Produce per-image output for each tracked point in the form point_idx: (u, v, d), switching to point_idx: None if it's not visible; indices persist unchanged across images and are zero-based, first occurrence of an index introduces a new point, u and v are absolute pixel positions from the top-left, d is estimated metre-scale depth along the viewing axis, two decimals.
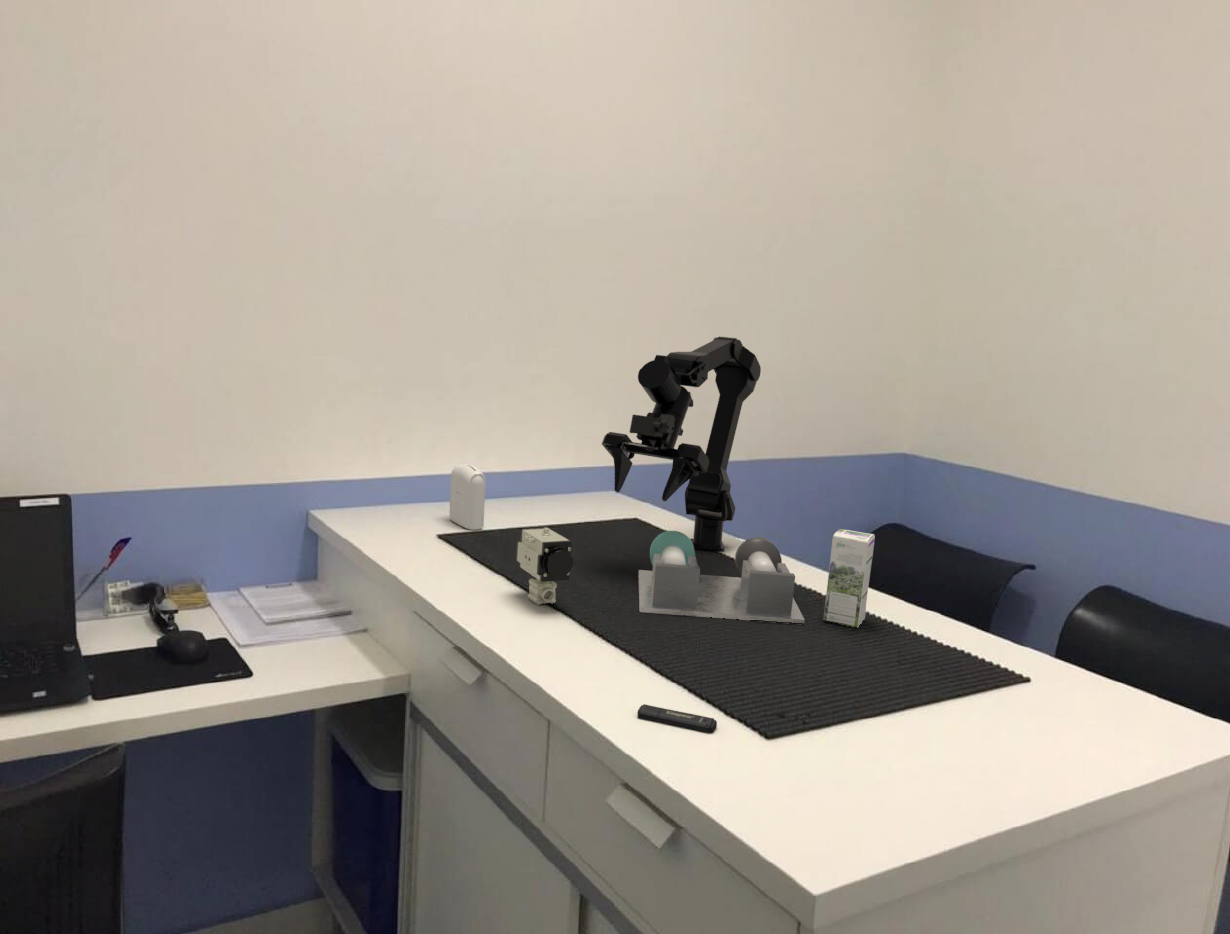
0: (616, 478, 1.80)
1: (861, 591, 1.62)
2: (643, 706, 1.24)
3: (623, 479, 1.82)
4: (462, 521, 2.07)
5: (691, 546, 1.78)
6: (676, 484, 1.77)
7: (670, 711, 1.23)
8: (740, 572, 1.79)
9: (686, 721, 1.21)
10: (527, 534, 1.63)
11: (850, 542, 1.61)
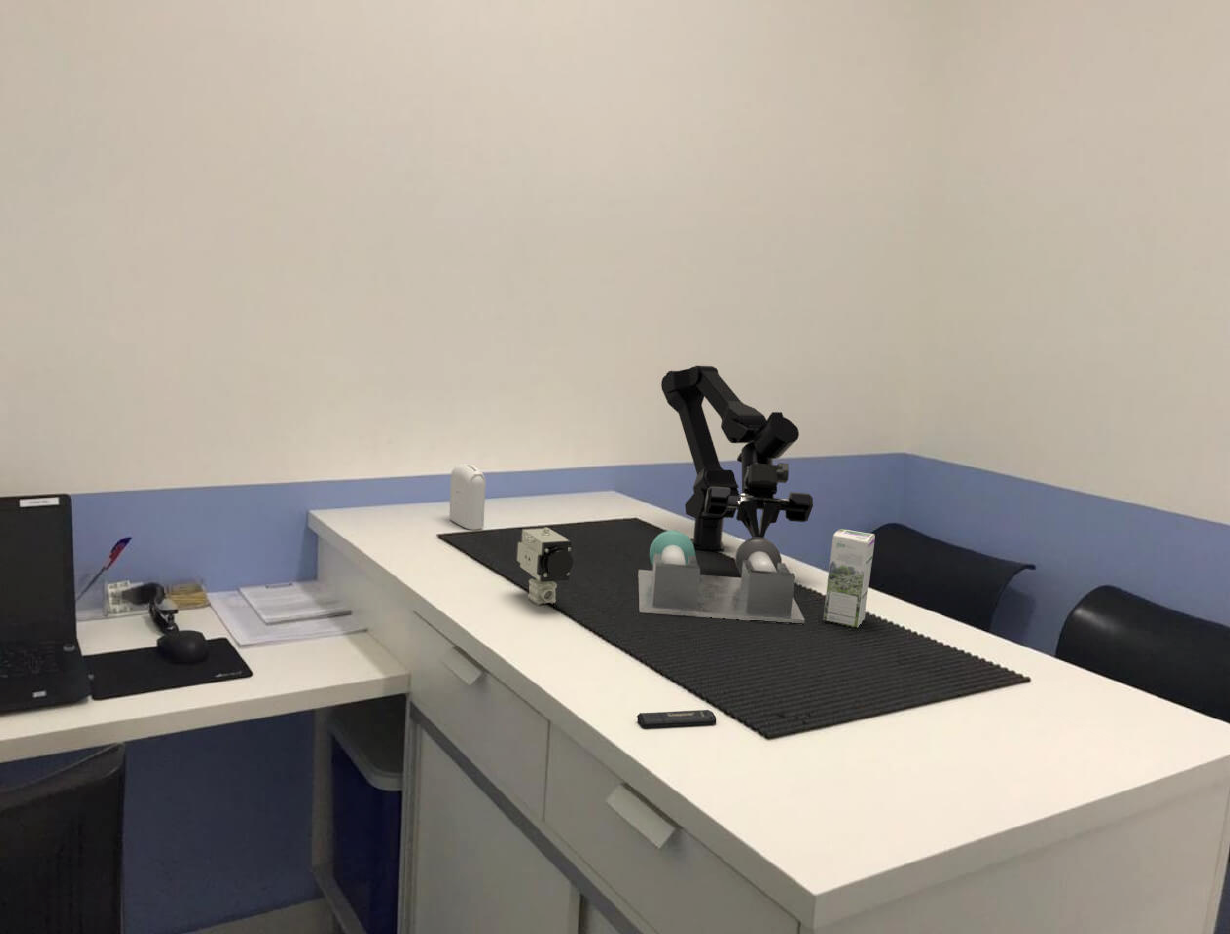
0: (756, 531, 1.81)
1: (861, 591, 1.62)
2: (643, 715, 1.21)
3: None
4: (462, 521, 2.07)
5: (691, 546, 1.78)
6: None
7: (670, 713, 1.22)
8: (740, 572, 1.79)
9: (692, 719, 1.22)
10: (527, 534, 1.63)
11: (850, 542, 1.61)
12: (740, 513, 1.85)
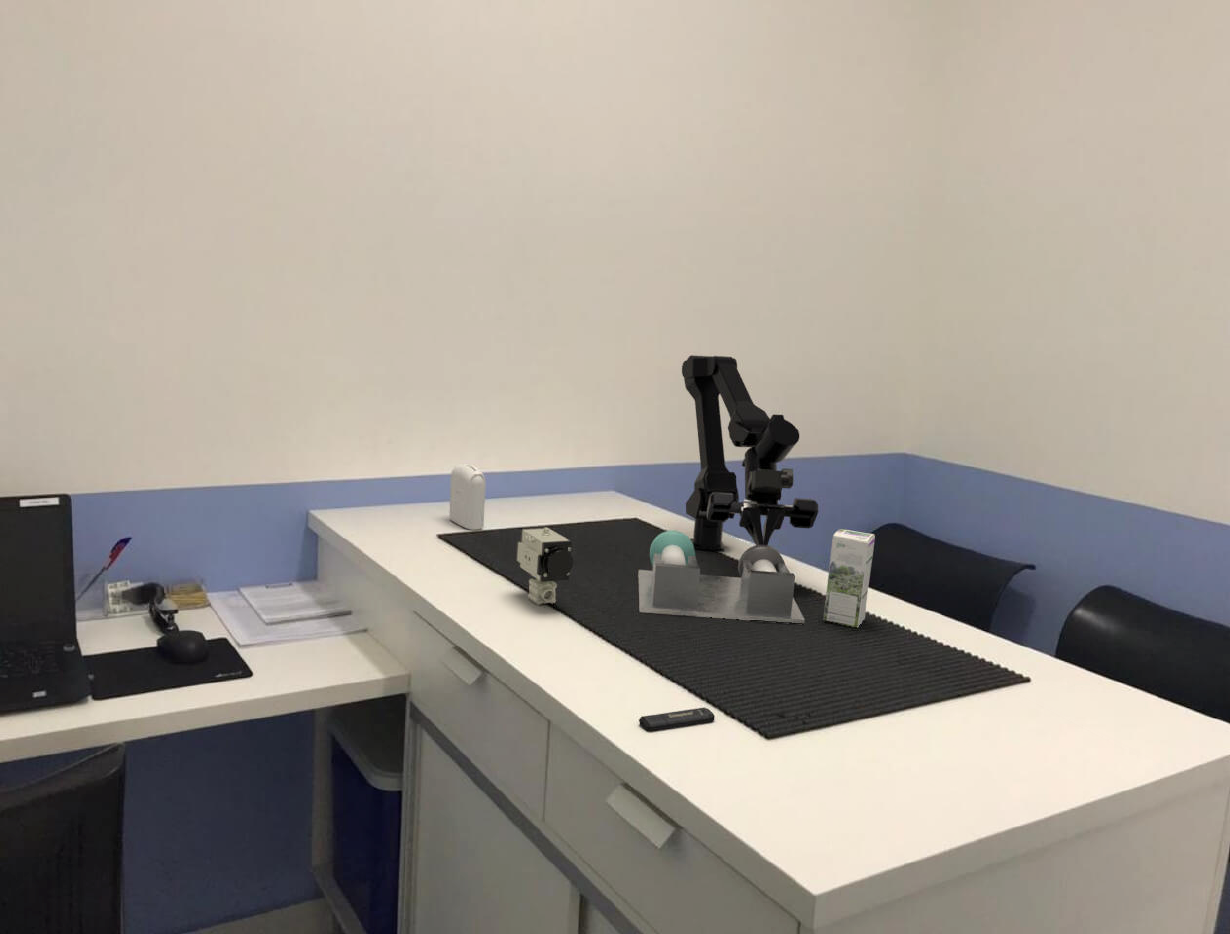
0: (760, 538, 1.76)
1: (861, 591, 1.62)
2: (646, 718, 1.20)
3: None
4: (462, 521, 2.07)
5: (691, 546, 1.78)
6: None
7: (670, 714, 1.22)
8: None
9: (692, 718, 1.22)
10: (527, 534, 1.63)
11: (850, 542, 1.61)
12: (743, 519, 1.80)
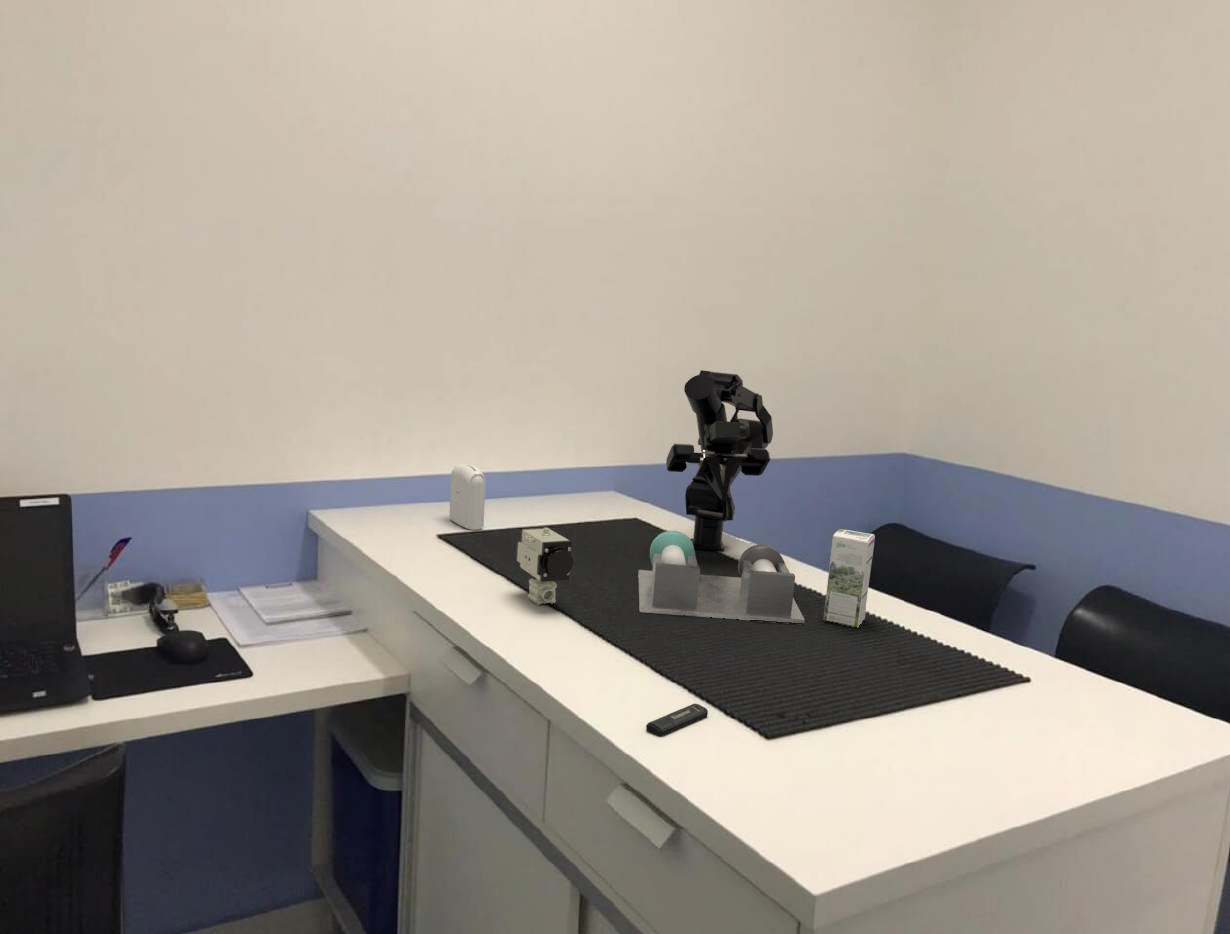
0: (720, 486, 1.89)
1: (861, 591, 1.62)
2: (655, 724, 1.19)
3: None
4: (462, 521, 2.07)
5: (691, 546, 1.78)
6: None
7: (672, 715, 1.22)
8: None
9: (692, 716, 1.23)
10: (527, 534, 1.63)
11: (850, 542, 1.61)
12: (702, 469, 1.92)
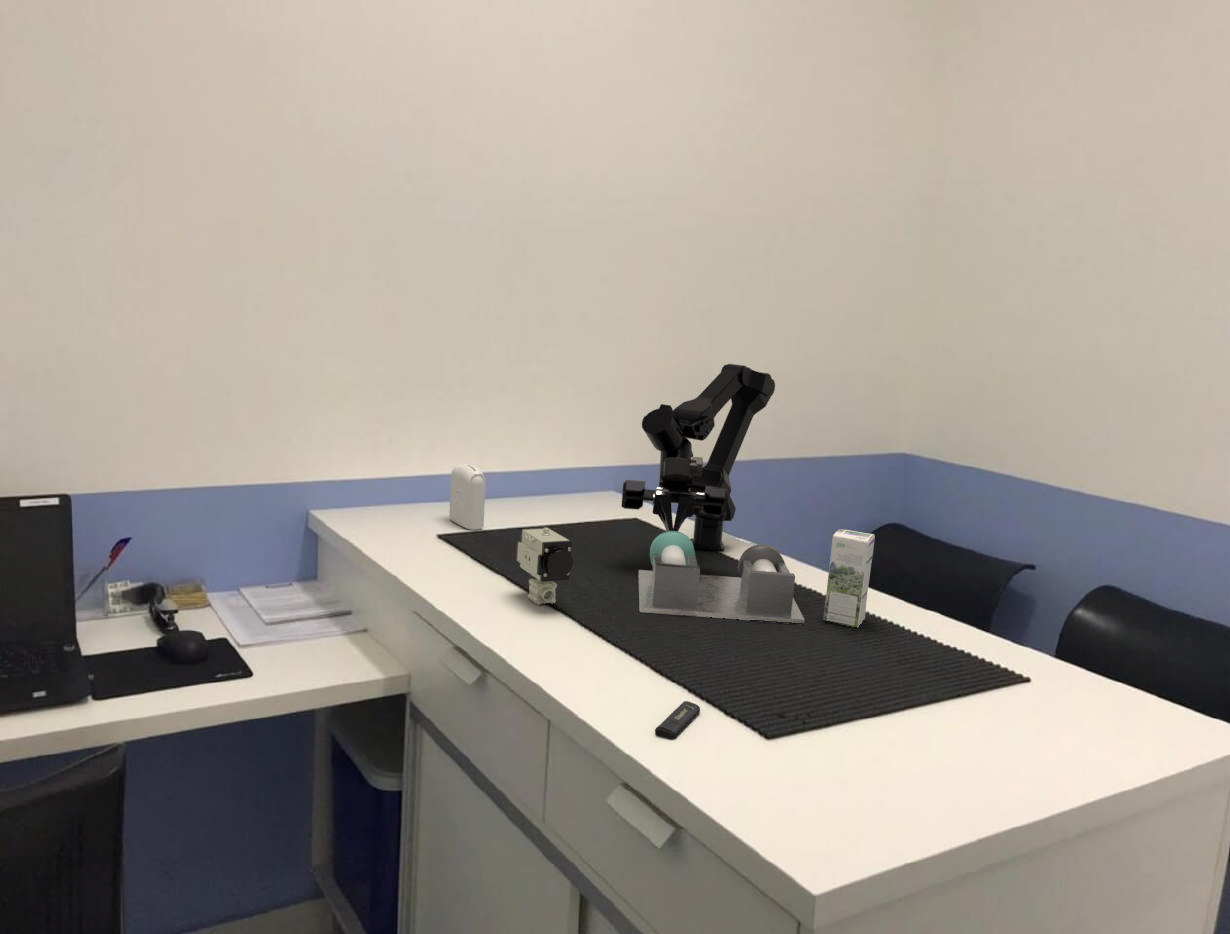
0: (670, 525, 1.81)
1: (861, 591, 1.62)
2: (665, 727, 1.19)
3: None
4: (462, 521, 2.07)
5: (691, 546, 1.78)
6: (680, 523, 1.83)
7: (675, 716, 1.22)
8: None
9: (691, 715, 1.23)
10: (527, 534, 1.63)
11: (850, 542, 1.61)
12: (656, 507, 1.85)
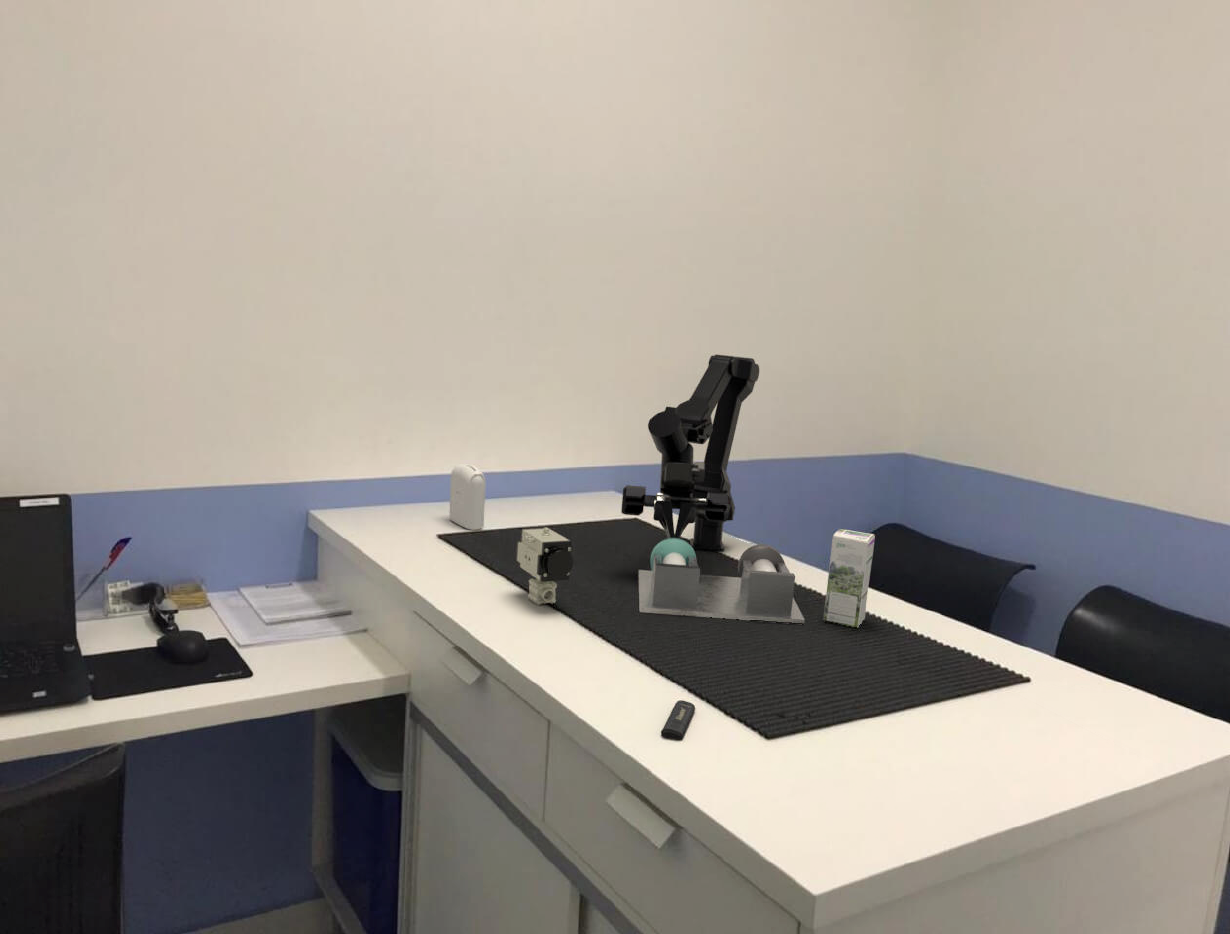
0: (671, 532, 1.76)
1: (861, 591, 1.62)
2: (672, 728, 1.18)
3: None
4: (462, 521, 2.07)
5: (693, 554, 1.73)
6: (682, 530, 1.78)
7: (676, 717, 1.22)
8: None
9: (690, 713, 1.24)
10: (527, 534, 1.63)
11: (850, 542, 1.61)
12: (656, 513, 1.80)
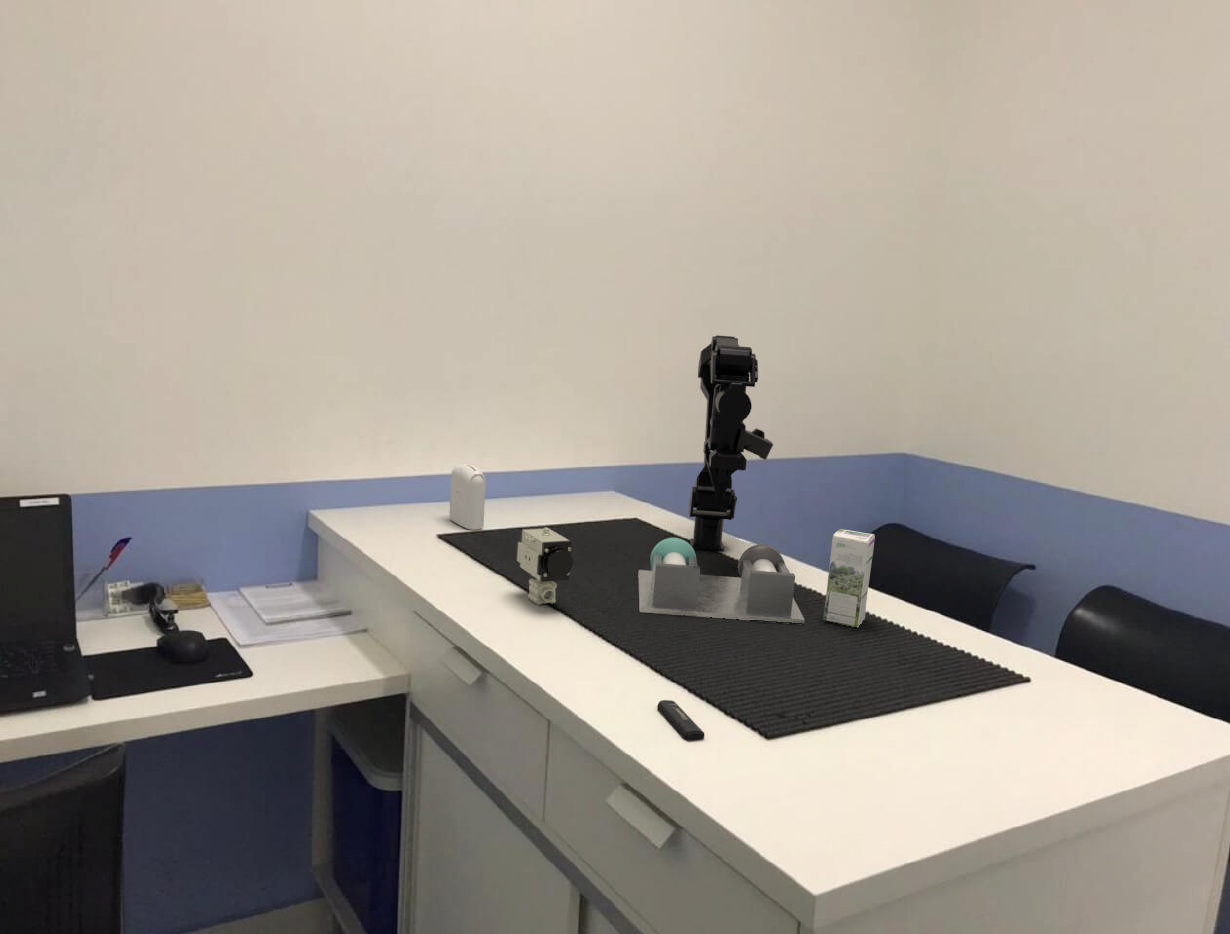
0: (726, 489, 1.89)
1: (861, 591, 1.62)
2: (694, 729, 1.18)
3: None
4: (462, 521, 2.07)
5: (693, 554, 1.73)
6: None
7: (682, 717, 1.21)
8: None
9: (683, 711, 1.24)
10: (527, 534, 1.63)
11: (850, 542, 1.61)
12: None
